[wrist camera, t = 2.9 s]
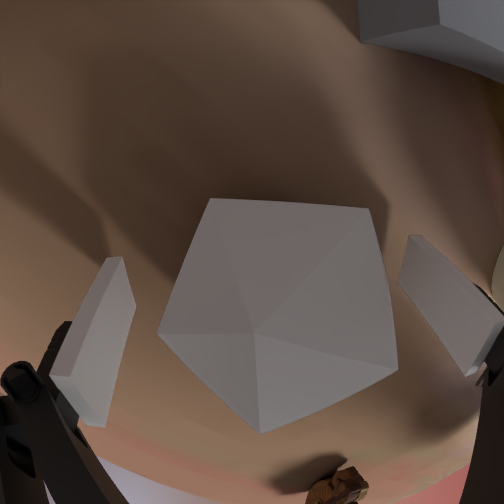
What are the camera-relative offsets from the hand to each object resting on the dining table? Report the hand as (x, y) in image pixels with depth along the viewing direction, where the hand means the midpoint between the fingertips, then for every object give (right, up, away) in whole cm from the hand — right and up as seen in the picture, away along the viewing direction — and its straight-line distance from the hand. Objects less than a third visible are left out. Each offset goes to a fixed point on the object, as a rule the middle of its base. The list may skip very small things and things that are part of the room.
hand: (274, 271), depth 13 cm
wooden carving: (+9, -30, +20) cm, 37 cm away
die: (0, +1, +2) cm, 2 cm away
